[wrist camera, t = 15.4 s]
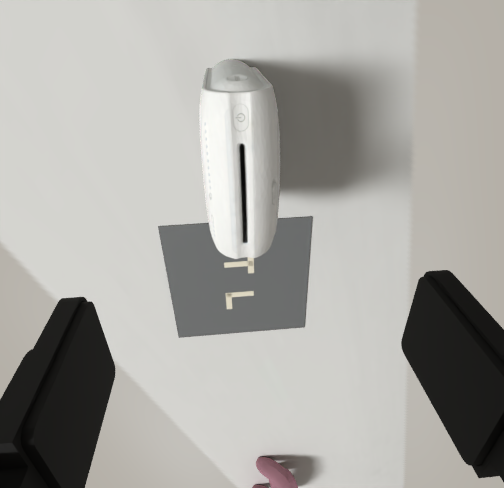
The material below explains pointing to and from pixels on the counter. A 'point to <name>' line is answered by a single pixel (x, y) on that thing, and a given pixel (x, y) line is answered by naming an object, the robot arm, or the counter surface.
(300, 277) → the dark gray panel
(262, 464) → the video game controller
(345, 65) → the counter surface
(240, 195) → the photo printer
